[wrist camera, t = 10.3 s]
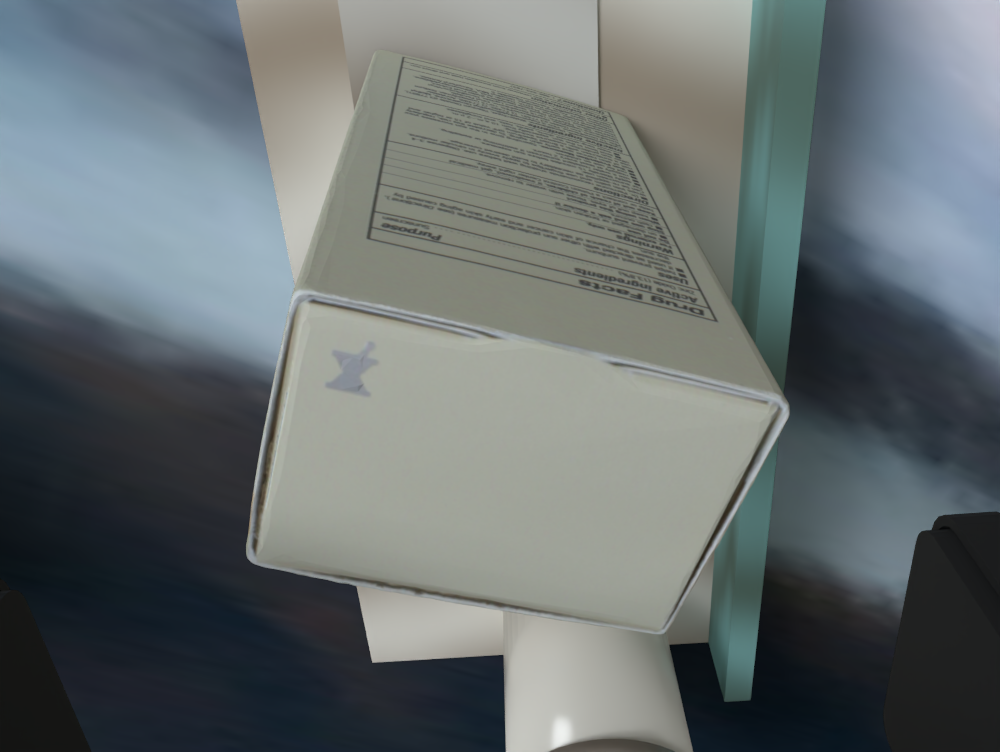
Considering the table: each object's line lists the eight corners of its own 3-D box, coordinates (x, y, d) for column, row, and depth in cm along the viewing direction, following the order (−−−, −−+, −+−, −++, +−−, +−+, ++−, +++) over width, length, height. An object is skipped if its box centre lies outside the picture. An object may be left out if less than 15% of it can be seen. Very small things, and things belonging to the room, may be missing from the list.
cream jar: (662, 659, 31) (713, 899, 24) (502, 669, 31) (507, 910, 24) (666, 537, 28) (725, 769, 21) (489, 548, 28) (492, 782, 21)
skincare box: (338, 218, 22) (212, 568, 12) (374, 39, 20) (259, 277, 10) (587, 282, 23) (671, 656, 13) (647, 118, 21) (806, 409, 11)
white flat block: (722, 607, 32) (750, 700, 28) (376, 628, 32) (364, 722, 29) (778, -110, 20) (836, -96, 17) (239, -68, 21) (193, -45, 17)
